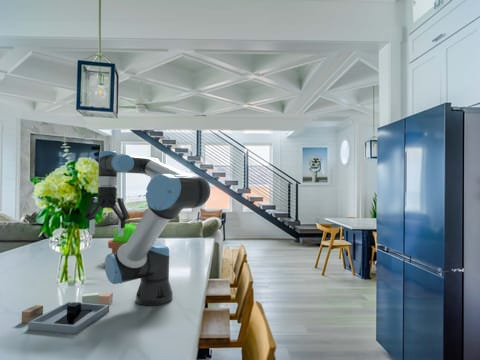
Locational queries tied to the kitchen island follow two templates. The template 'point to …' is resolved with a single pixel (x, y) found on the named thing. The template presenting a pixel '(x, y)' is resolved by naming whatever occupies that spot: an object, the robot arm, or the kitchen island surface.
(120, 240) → the potted cactus
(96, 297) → the brick sage
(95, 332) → the kitchen island surface
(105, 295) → the cube terracotta
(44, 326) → the tray
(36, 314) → the brick walnut
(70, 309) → the build plate
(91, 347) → the kitchen island surface
